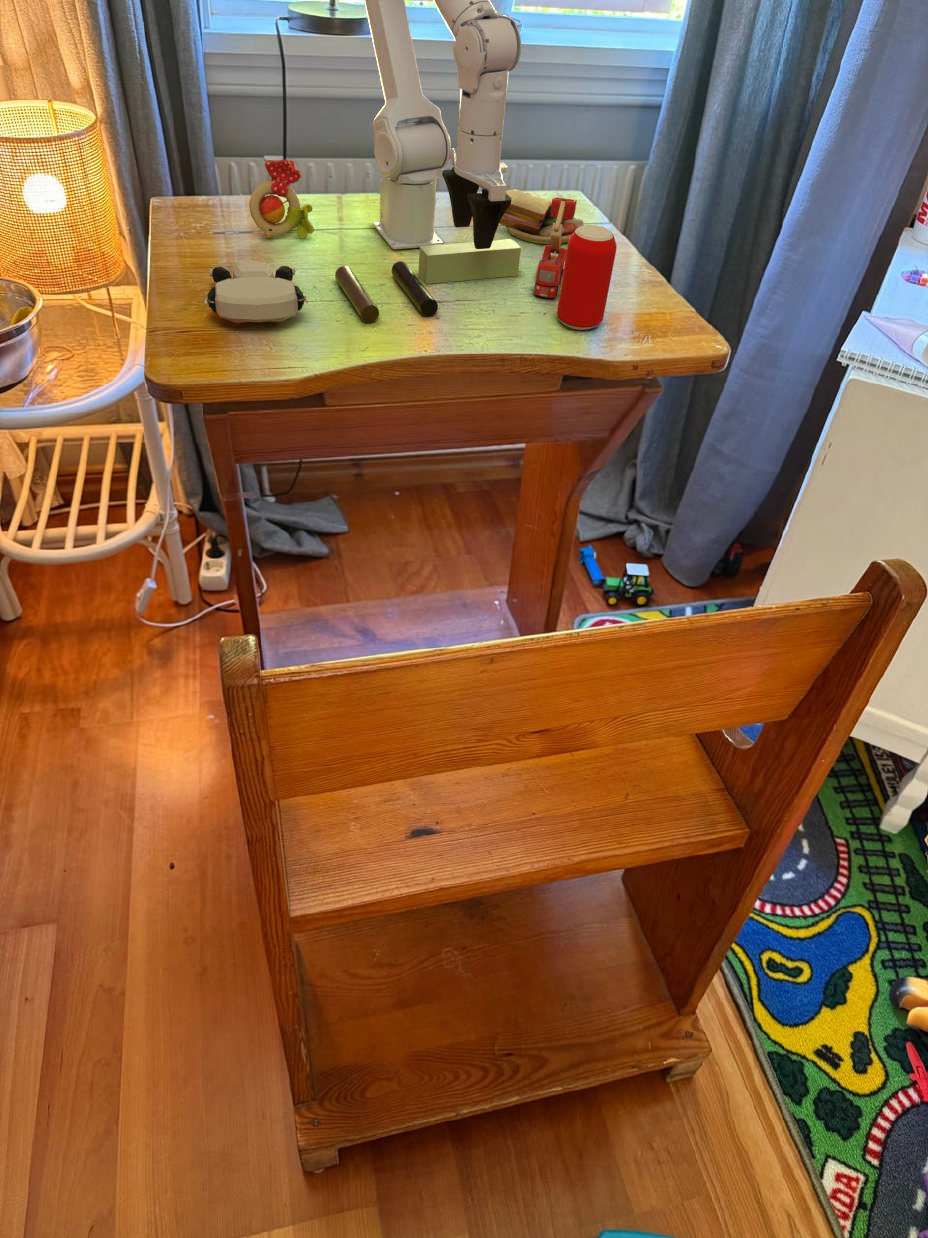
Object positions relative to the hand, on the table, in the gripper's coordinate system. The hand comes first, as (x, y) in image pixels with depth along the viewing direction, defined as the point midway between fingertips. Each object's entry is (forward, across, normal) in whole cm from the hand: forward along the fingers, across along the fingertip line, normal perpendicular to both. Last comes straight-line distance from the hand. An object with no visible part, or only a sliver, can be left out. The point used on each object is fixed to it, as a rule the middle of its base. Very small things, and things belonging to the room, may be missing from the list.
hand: (471, 236), depth 126 cm
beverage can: (+6, -17, -9) cm, 20 cm away
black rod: (+5, -5, +10) cm, 12 cm away
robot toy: (+6, -4, +31) cm, 32 cm away
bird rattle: (+6, +18, +22) cm, 29 cm away
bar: (+5, 0, 0) cm, 5 cm away
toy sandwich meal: (+6, +13, -17) cm, 22 cm away
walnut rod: (+5, -5, +18) cm, 19 cm away
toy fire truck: (+6, -4, -11) cm, 13 cm away
